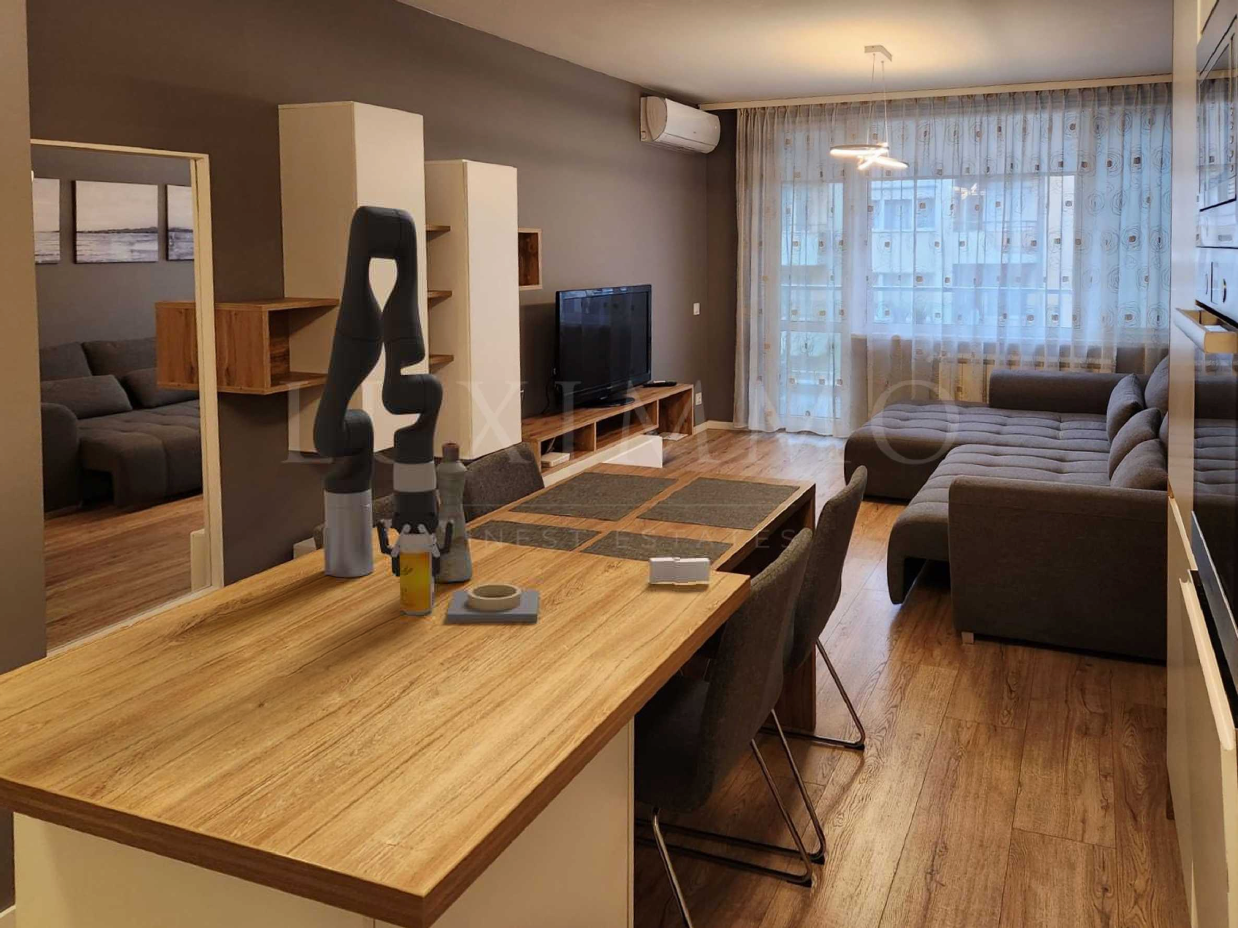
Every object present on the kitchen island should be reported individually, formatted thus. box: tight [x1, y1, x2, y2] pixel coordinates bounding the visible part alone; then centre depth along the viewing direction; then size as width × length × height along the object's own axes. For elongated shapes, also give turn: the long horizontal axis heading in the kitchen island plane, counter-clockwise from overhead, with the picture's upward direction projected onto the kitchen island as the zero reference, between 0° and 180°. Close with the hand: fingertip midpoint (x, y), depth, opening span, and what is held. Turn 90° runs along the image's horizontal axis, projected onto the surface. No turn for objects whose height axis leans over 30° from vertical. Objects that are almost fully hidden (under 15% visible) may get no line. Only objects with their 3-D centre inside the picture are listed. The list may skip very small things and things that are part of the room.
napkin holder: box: [649, 557, 711, 584], centre depth 222 cm, size 15×11×6 cm
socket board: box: [446, 582, 540, 623], centre depth 204 cm, size 16×14×4 cm
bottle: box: [434, 441, 474, 583], centre depth 220 cm, size 9×9×28 cm
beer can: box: [399, 533, 435, 616], centre depth 202 cm, size 6×6×15 cm
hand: (416, 575), depth 202 cm, fingers closed on beer can, 6 cm apart
